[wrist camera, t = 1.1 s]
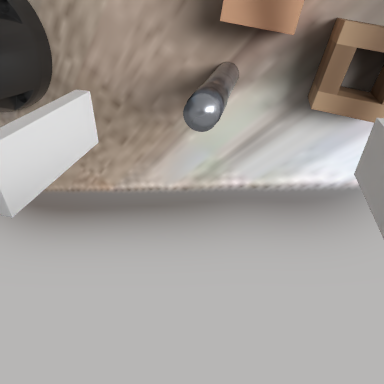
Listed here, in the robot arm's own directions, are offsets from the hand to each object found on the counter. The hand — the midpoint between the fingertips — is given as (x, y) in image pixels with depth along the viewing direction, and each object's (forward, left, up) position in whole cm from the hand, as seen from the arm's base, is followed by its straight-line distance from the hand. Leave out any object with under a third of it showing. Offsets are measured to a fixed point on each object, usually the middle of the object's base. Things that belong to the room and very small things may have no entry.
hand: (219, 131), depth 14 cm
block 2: (+10, +1, -19) cm, 22 cm away
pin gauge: (-2, -2, -19) cm, 19 cm away
